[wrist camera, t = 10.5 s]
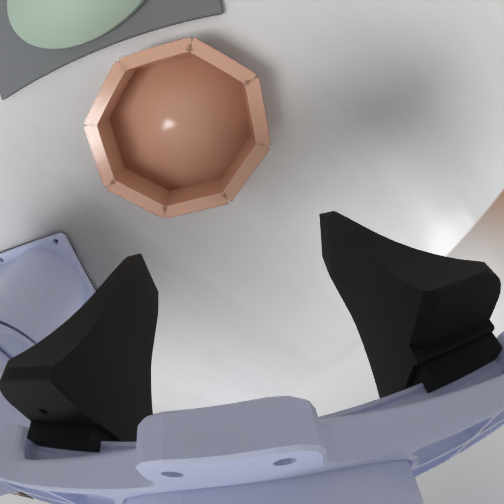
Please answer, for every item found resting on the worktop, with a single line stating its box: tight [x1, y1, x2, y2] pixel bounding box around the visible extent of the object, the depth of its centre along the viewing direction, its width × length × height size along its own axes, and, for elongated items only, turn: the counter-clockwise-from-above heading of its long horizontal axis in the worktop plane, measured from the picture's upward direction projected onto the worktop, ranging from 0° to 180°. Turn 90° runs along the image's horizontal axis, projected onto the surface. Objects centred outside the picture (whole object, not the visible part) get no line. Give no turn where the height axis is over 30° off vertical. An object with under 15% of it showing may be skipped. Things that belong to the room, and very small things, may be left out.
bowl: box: [84, 37, 271, 219], centre depth 17 cm, size 10×10×3 cm
